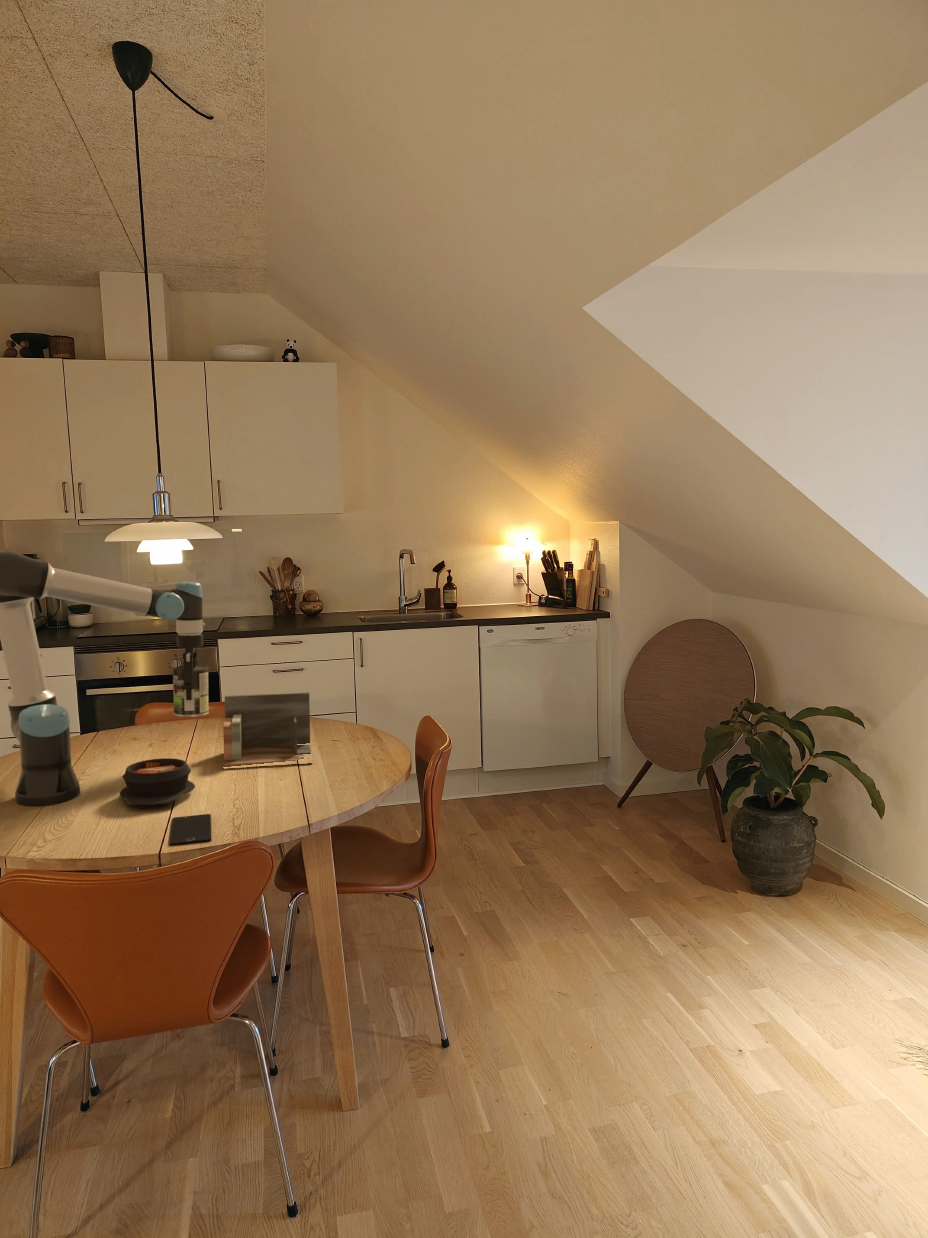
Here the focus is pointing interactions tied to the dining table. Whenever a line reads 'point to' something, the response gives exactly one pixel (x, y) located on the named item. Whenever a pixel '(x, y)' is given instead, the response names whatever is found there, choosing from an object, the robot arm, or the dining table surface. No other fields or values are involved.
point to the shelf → (266, 728)
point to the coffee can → (199, 692)
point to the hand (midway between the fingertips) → (191, 707)
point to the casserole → (156, 781)
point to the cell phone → (190, 829)
